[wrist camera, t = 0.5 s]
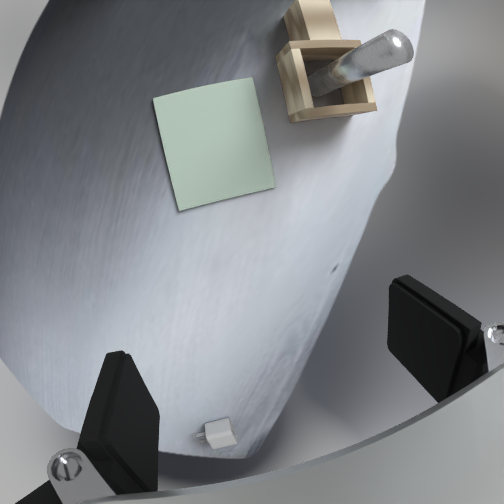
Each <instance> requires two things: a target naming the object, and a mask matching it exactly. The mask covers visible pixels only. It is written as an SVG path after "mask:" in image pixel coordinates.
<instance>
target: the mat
mask: <svg viewBox="0 0 504 504" xmlns="http://www.w3.org/2000/svg"><path fill="white" fill-rule="evenodd" d="M153 101H154V106H155V111H156V116H157V121H158V125H159V130H160V134H161V139H162V143H163V147H164V152H165V156H166V160H167V164H168V169H169V173H170V177H171V181H172V185H173V189H174V193H175V197H176V201H177V204H178V208H179V211H181V210H185V209H189V208H192V207H196V206H200V205H204V204H208V203H212V202H216V201H220V200H224V199H228V198H232V197H236V196H240V195H245V194H249V193H253V192H257V191H262V190H266V189H270V188H275V187H276V184H275V179H274V174H273V169H272V164H271V159H270V154H269V150H268V145H267V140H266V135H265V131H264V126H263V122H262V117H261V112H260V108H259V104H258V99H257V95H256V90H255V86H254V82H253V77H251V78H245V79H239V80H233V81H227V82H222V83H217V84H211V85H207V86H202V87H197V88H193V89H188V90H184V91H180V92H176V93H172V94H168V95H164V96H161V97H157V98H153Z"/></svg>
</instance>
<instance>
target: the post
mask: <svg viewBox="0 0 504 504" xmlns="http://www.w3.org/2000/svg"><path fill="white" fill-rule="evenodd" d="M413 55H414V51H413V47H412V44H411V42H410V40H409V39H408V38H407V37H406V36H405V35H404V34H403V33H402V32H400V31H398V30H393V29H392V30H388V31H386V32H384V33H382V34H381V35H379V36H377V37H375V38H373V39H371V40H369V41H368V42H366V43H364V44H362V45H360V46H359V47H357V48H355V49H353V50H352V51H350V52H348V53H346V54H345V55H343V56H341V57H340V58H338V59H336V60H335V61H333V62H331V63H330V64H328V65H326V66H325V67H323V68H321V69H320V70H318V71H317V72H315V73H313V74H312V75H310V76H309V77H308V78H307V79H308V84H309V88H310V92H311V95H313V96H322V95H324V94H326V93H329V92H331V91H333V90H336V89H338V88H341V87H343V86H345V85H348V84H350V83H353V82H356V81H358V80H361V79H363V78H366V77H369V76H371V75H374V74H377V73H379V72H382V71H385V70H388V69H391V68H393V67H396V66H399V65H402V64H405V63H408V62H410V61H411V60H412V58H413Z"/></svg>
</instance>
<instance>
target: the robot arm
mask: <svg viewBox="0 0 504 504" xmlns="http://www.w3.org/2000/svg"><path fill="white" fill-rule="evenodd" d="M480 328H481V322H480V321H478V320H477V319H475V318H474V317H473V316H471V315H470V314H468V313H467V312H465V311H464V310H462V309H461V308H459V307H458V306H456V305H455V304H453V303H452V302H450V301H449V300H447V299H445V298H444V297H443V296H441V295H439V294H438V293H436V292H435V291H433V290H431V289H430V288H429V287H427V286H425V285H424V284H422V283H421V282H419V281H417V280H416V279H414V278H413V277H411V276H409V275H404V276H401V277H398V278H395V279H394V280H393V281H392V284H391V285H390V286H389V316H388V340H387V345H388V349H389V351H390V352H391V353H392V354H393V355H394V356H395V357H396V358H397V359H398V360H399V361H400V362H401V364H402V365H403V366H404V367H405V368H406V369H407V370H408V371H409V372H410V373H411V374H412V375H413V376H414V377H415V378H416V379H417V380H418V382H419V383H420V384H421V385H422V386H423V387H424V388H425V389H426V390H427V391H428V393H430V395H431V396H432V397H433V398H434V399H435V400H436V401H437V402H438V404H436V405H435V406H433V407H431V408H429V409H427V410H426V411H424V412H422V413H420V414H419V415H416V416H414V417H412V418H411V419H409V420H407V421H405V422H403V423H401V424H399V425H397V426H394V427H393V428H390V429H388V430H386V431H384V432H382V433H380V434H377V435H375V436H373V437H370V438H368V439H366V440H363V441H361V442H359V443H356V444H354V445H352V446H349V447H346V448H344V449H341V450H338V451H336V452H333V453H330V454H328V455H325V456H322V457H319V458H316V459H313V460H310V461H307V462H304V463H300V464H297V465H294V466H290V467H287V468H283V469H280V470H276V471H272V472H269V473H265V474H261V475H256V476H252V477H248V478H244V479H238V480H233V481H228V482H223V483H218V484H211V485H205V486H198V487H191V488H184V489H176V490H167V491H157V489H158V443H159V421H160V415H159V410H158V408H157V406H156V404H155V402H154V400H153V398H152V396H151V395H150V393H149V391H148V389H147V387H146V385H145V383H144V381H143V379H142V377H141V375H140V373H139V371H138V369H137V367H136V365H135V363H134V361H133V359H132V357H131V355H130V354H125V352H124V351H116V352H110V353H107V354H106V356H105V359H104V362H103V365H102V368H101V371H100V374H99V377H98V380H97V383H96V386H95V389H94V392H93V395H92V397H91V400H90V403H89V407H88V410H87V413H86V417H85V420H84V424H83V427H82V431H81V434H80V438H79V442H78V446H77V449H76V448H68V449H63V450H61V451H59V452H57V453H56V454H55V455H54V456H53V457H52V458H51V460H50V461H49V463H48V466H47V474H48V477H49V479H50V480H48V481H47V482H45V483H44V484H43V485H41V486H40V487H38V488H37V489H36V490H34V491H33V492H31V493H30V494H28V495H27V496H25V497H24V498H23V499H21V500H20V501H18V502H17V503H15V504H504V323H503V322H496V323H492V324H489V325H488V326H487V327H486V328H485V330H484V332H483V331H482V330H481V329H480Z"/></svg>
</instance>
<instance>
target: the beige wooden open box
mask: <svg viewBox="0 0 504 504" xmlns="http://www.w3.org/2000/svg"><path fill="white" fill-rule="evenodd" d="M283 18H284V21H285V25H286V28H287V32H288V35H289V39H290V41H289V42H288V43H287V44H286V45H285V46H284V47H283V48H282V49H281V51H280V52H279V53H278V54H277V55H276V56H275V59H276V63H277V67H278V71H279V75H280V79H281V84H282V88H283V92H284V97H285V101H286V106H287V110H288V115H289V119H290V123H294V122H301V121H308V120H315V119H323V118H331V117H340V116H350V115H356V114H361V113H366V112H372V111H377V107H376V102H375V97H374V93H373V88H372V84H371V80H370V76H369V77H366V78H363V79H361V80H358V81H356V82H353V83H350V84H348V85H345V86H343V87H341V91H342V95H343V100H344V104H343V105H332V106H323V107H314V106H313V101H312V97H311V92H310V88H309V84H308V79H307V75H306V71H305V67H304V63H303V61H320V60H334V61H335V60H336V59H338V58H340V57H341V56H343V55H345V54H346V53H348V52H350V51H352V50H353V49H355V48H357V47H359V46H360V45H361V42H360V40H342V38H341V35H340V31H339V28H338V25H337V22H336V18H335V15H334V12H333V9H332V6H331V3H330V0H295V1H294V3H293V4H292V5H291V7H290V8H289V9H288V11H287V12H286V14H285V15H284V16H283Z"/></svg>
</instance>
